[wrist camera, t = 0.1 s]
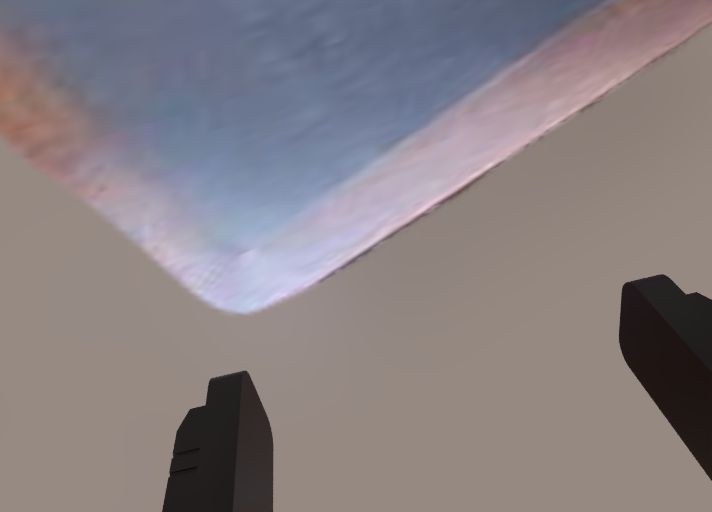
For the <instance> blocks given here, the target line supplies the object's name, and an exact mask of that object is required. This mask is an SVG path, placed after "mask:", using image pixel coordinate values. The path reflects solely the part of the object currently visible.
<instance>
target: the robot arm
mask: <svg viewBox="0 0 712 512" xmlns="http://www.w3.org/2000/svg"><path fill="white" fill-rule="evenodd" d="M619 343H620V347H621V351H622V354H623V357H624V359H625V361H626V363H627V365H628V366H629V368H630V369H631V370H632V372H633V373H634V375H635V376H636V377H637V379H638V380H639V381H640V383H641V384H642V386H643V387H644V388H645V390H646V391H647V392H648V394H649V395H650V397H651V398H652V399H653V400H654V402H655V403H656V405H657V406H658V407H659V409H660V410H661V412H662V413H663V414H664V416H665V417H666V418H667V420H668V421H669V423H670V424H671V425H672V427H673V428H674V429H675V431H676V432H677V434H678V435H679V436H680V438H681V439H682V441H683V442H684V443H685V445H686V446H687V447H688V449H689V450H690V452H691V453H692V454H693V456H694V457H695V458H696V460H697V461H698V463H699V464H700V465H701V467H702V468H703V469H704V471H705V472H706V474H707V475H708V476H709V478H710V479H711V480H712V300H711V299H709V298H707V297H705V296H703V295H701V294H699V293H697V292H696V293H691V294H687V295H686V294H685V293H684V292H683V291H682V290H681V289H680V288H679V287H678V286H677V285H676V284H675V283H674V282H673V281H672V280H671V279H670V278H669V277H667V276H666V275H662V274H661V275H656V276H652V277H648V278H643V279H639V280H635V281H631V282H627V283H625V284H624V285H623V288H622V297H621V313H620V327H619ZM162 512H273V438H272V432H271V427H270V423H269V420H268V417H267V415H266V412H265V410H264V408H263V405H262V403H261V401H260V398H259V396H258V394H257V391H256V389H255V387H254V385H253V382H252V380H251V377H250V375H249V373H248V372H247V371H241V372H237V373H232V374H228V375H224V376H219V377H215V378H212V379H210V381H209V385H208V392H207V400H206V405H205V406H201V407H197V408H193V409H190V410H189V412H188V414H187V415H186V417H185V419H184V420H183V422H182V424H181V425H180V427H179V429H178V430H177V433H176V440H175V444H174V450H173V458H172V461H171V466H170V477H169V478H168V483H167V489H166V494H165V499H164V505H163V510H162Z"/></svg>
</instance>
